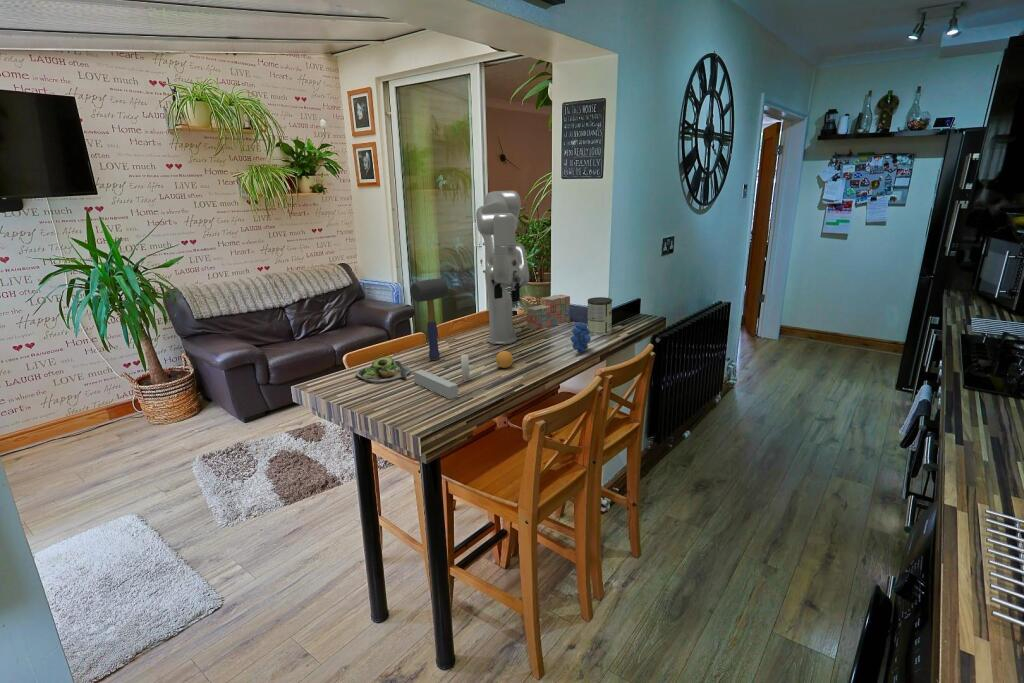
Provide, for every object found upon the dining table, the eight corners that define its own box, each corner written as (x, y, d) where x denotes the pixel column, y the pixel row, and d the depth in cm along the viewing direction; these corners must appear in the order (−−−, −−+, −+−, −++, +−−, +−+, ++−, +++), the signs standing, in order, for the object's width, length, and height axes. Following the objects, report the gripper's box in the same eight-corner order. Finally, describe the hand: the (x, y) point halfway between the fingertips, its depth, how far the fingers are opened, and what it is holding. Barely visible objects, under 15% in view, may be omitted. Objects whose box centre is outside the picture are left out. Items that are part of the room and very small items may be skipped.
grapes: (582, 358, 191) (582, 326, 187) (566, 355, 195) (566, 324, 191) (598, 350, 199) (598, 319, 196) (583, 347, 203) (583, 317, 200)
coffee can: (587, 328, 230) (587, 297, 226) (611, 328, 228) (611, 297, 224) (587, 335, 220) (587, 302, 216) (612, 335, 218) (612, 302, 215)
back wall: (422, 380, 174) (421, 369, 173) (458, 396, 159) (457, 384, 158) (414, 383, 172) (413, 371, 171) (450, 399, 157) (449, 387, 156)
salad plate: (425, 375, 180) (424, 362, 179) (380, 390, 168) (379, 376, 167) (393, 363, 193) (392, 351, 192) (349, 376, 181) (348, 364, 180)
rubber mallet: (426, 365, 188) (419, 283, 180) (414, 361, 194) (407, 280, 185) (454, 357, 196) (448, 278, 188) (442, 353, 202) (436, 276, 193)
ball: (505, 363, 188) (505, 347, 186) (516, 367, 184) (516, 351, 182) (492, 367, 184) (492, 351, 182) (503, 371, 180) (503, 354, 178)
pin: (466, 378, 175) (465, 353, 172) (471, 379, 173) (469, 355, 171) (460, 380, 173) (459, 355, 171) (465, 381, 171) (463, 357, 169)
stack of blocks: (536, 330, 230) (535, 303, 227) (526, 328, 235) (526, 301, 231) (570, 321, 243) (570, 295, 240) (560, 319, 248) (560, 293, 244)
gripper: (529, 250, 176) (531, 301, 181) (498, 249, 189) (500, 295, 194) (512, 252, 172) (514, 304, 176) (481, 250, 185) (483, 298, 189)
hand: (506, 299), depth 185 cm, fingers open, 9 cm apart
